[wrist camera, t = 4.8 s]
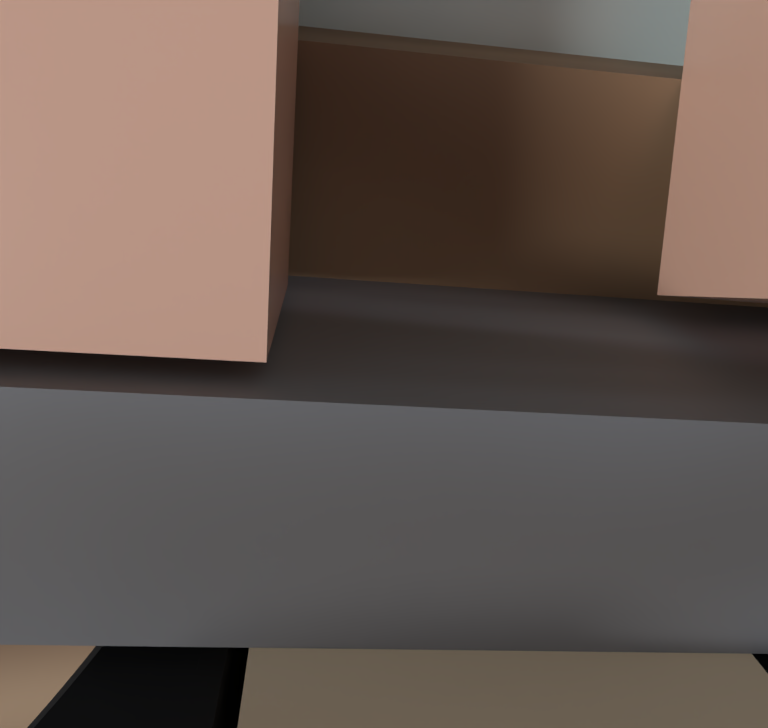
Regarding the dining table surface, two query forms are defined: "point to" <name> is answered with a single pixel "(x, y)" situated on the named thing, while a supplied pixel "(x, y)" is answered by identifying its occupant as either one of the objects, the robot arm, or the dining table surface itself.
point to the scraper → (413, 508)
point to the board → (457, 193)
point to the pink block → (720, 158)
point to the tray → (521, 24)
